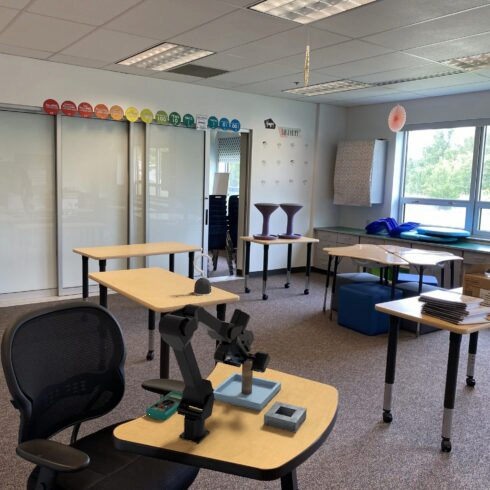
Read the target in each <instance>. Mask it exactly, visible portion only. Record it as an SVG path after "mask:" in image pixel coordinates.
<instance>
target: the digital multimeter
mask: <svg viewBox="0 0 490 490" xmlns="http://www.w3.org/2000/svg"><path fill="white" fill-rule="evenodd" d="M182 396H183V394H182V392H179V391H173V390H172V391H171V392H169V393H167V394H166V395H165V396H163V397H162V398H160V399H159V400H158V401H156V402H155V403H153V404H152V405H150V406H148V407H147V408H146V409H145V412H146V413H145V415H146V416H147V415H148V417H149V416H150V417H149V418H151V419H156V420H159V421H167V420H168V419H169V418H170V417H171V416H173V415H174V414H176V413H177V407H178V405H179V403H180V401H181V398H182ZM149 414H150V415H149Z"/></svg>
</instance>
